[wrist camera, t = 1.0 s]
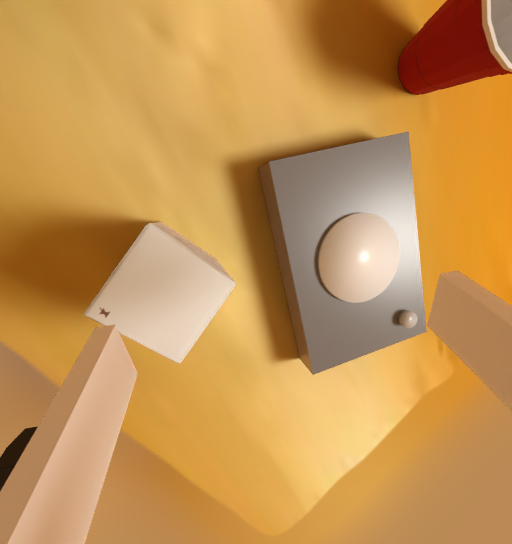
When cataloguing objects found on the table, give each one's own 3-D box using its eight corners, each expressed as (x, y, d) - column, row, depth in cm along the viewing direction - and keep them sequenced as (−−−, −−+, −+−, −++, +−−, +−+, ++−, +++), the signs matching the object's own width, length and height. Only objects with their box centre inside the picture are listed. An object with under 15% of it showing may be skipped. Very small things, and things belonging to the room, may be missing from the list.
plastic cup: (437, 132, 36) (556, 93, 24) (367, 97, 33) (466, 32, 21) (468, 43, 35) (610, -43, 23) (399, -3, 31) (522, -129, 20)
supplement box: (179, 312, 32) (178, 369, 20) (119, 275, 30) (76, 315, 18) (218, 259, 32) (240, 284, 20) (161, 218, 30) (146, 219, 18)
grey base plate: (258, 168, 31) (272, 159, 26) (383, 141, 34) (415, 128, 29) (299, 358, 37) (316, 379, 32) (403, 320, 40) (433, 334, 35)
